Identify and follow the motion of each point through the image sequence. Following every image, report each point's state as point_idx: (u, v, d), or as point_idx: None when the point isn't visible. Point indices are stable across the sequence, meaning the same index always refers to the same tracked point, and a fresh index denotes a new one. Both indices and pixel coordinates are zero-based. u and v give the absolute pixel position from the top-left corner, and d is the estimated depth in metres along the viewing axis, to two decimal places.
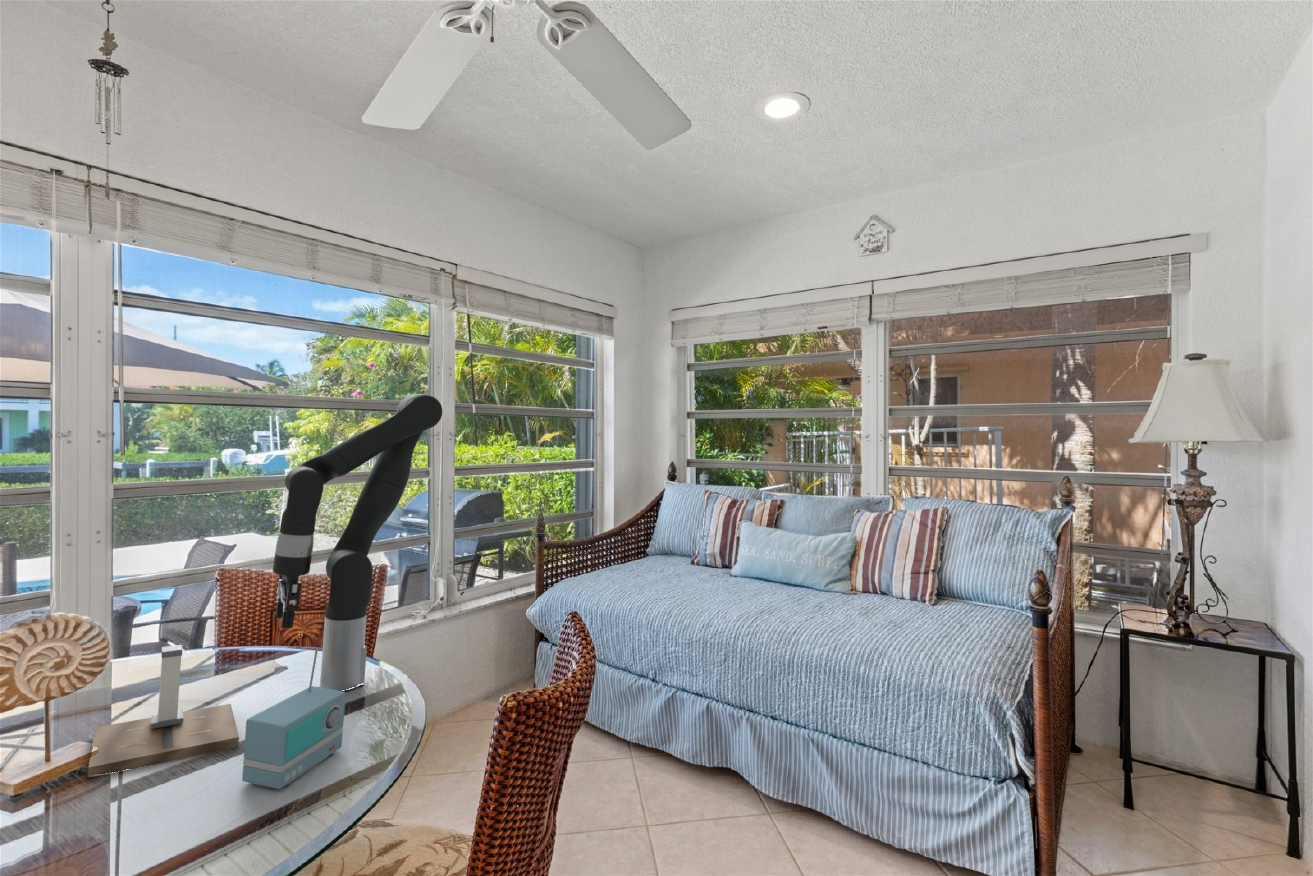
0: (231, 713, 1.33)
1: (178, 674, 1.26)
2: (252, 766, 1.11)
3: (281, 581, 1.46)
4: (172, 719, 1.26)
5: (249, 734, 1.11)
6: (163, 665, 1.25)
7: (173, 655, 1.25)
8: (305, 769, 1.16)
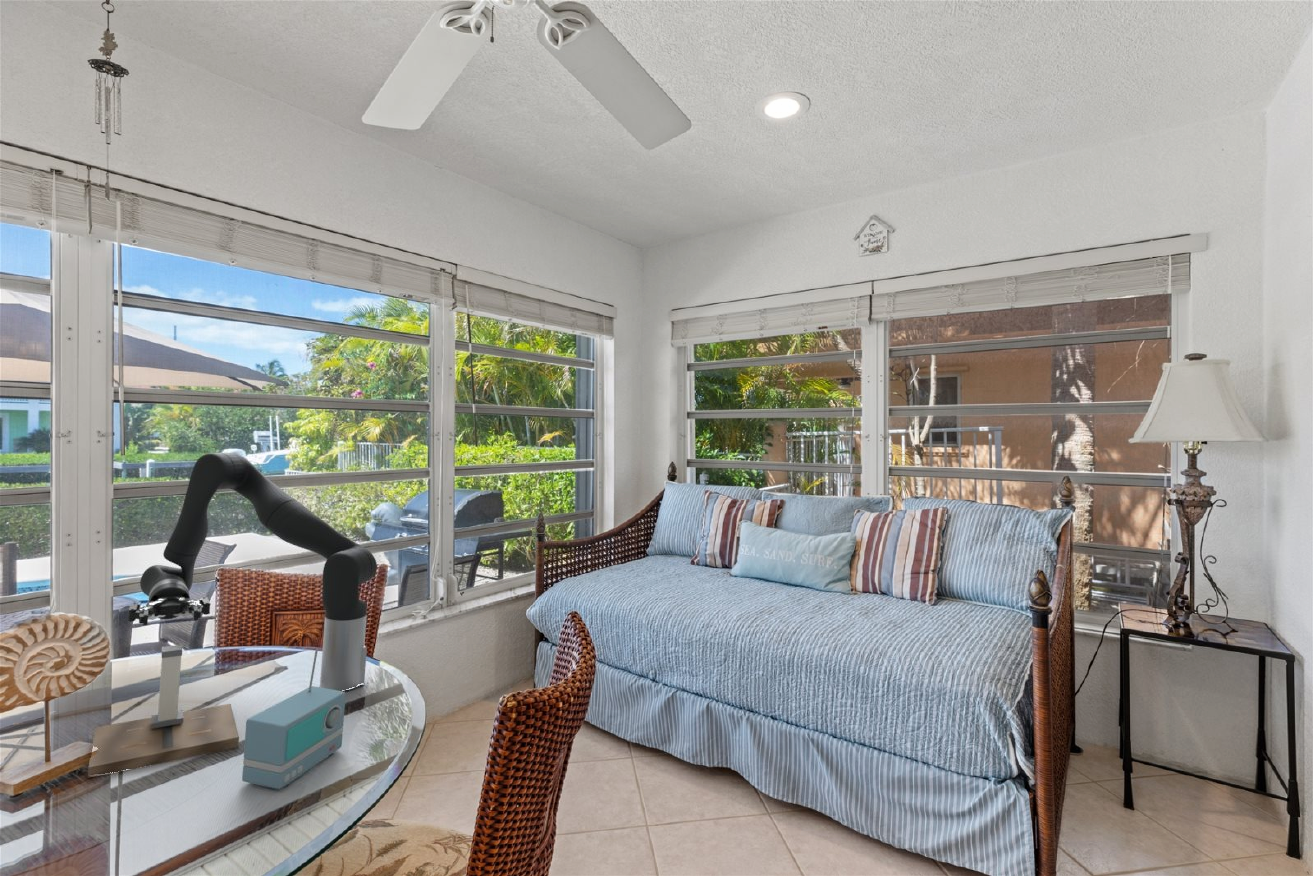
0: (231, 713, 1.33)
1: (178, 674, 1.26)
2: (252, 766, 1.11)
3: None
4: (172, 719, 1.26)
5: (249, 734, 1.11)
6: (163, 665, 1.25)
7: (173, 655, 1.25)
8: (305, 769, 1.16)
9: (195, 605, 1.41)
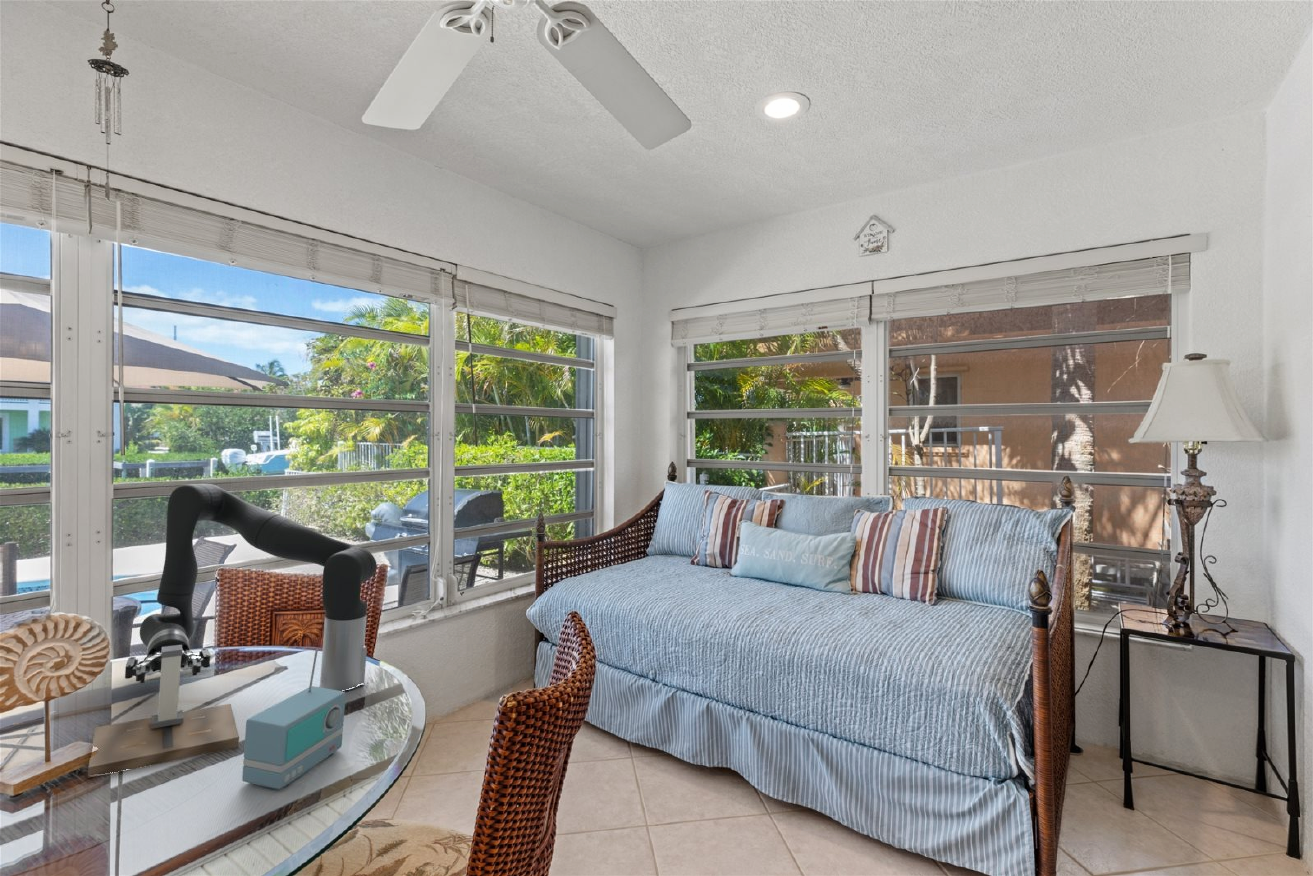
0: (231, 713, 1.33)
1: (178, 674, 1.26)
2: (252, 766, 1.11)
3: None
4: (172, 719, 1.26)
5: (249, 734, 1.11)
6: (163, 665, 1.25)
7: (173, 655, 1.25)
8: (305, 769, 1.16)
9: (194, 658, 1.36)
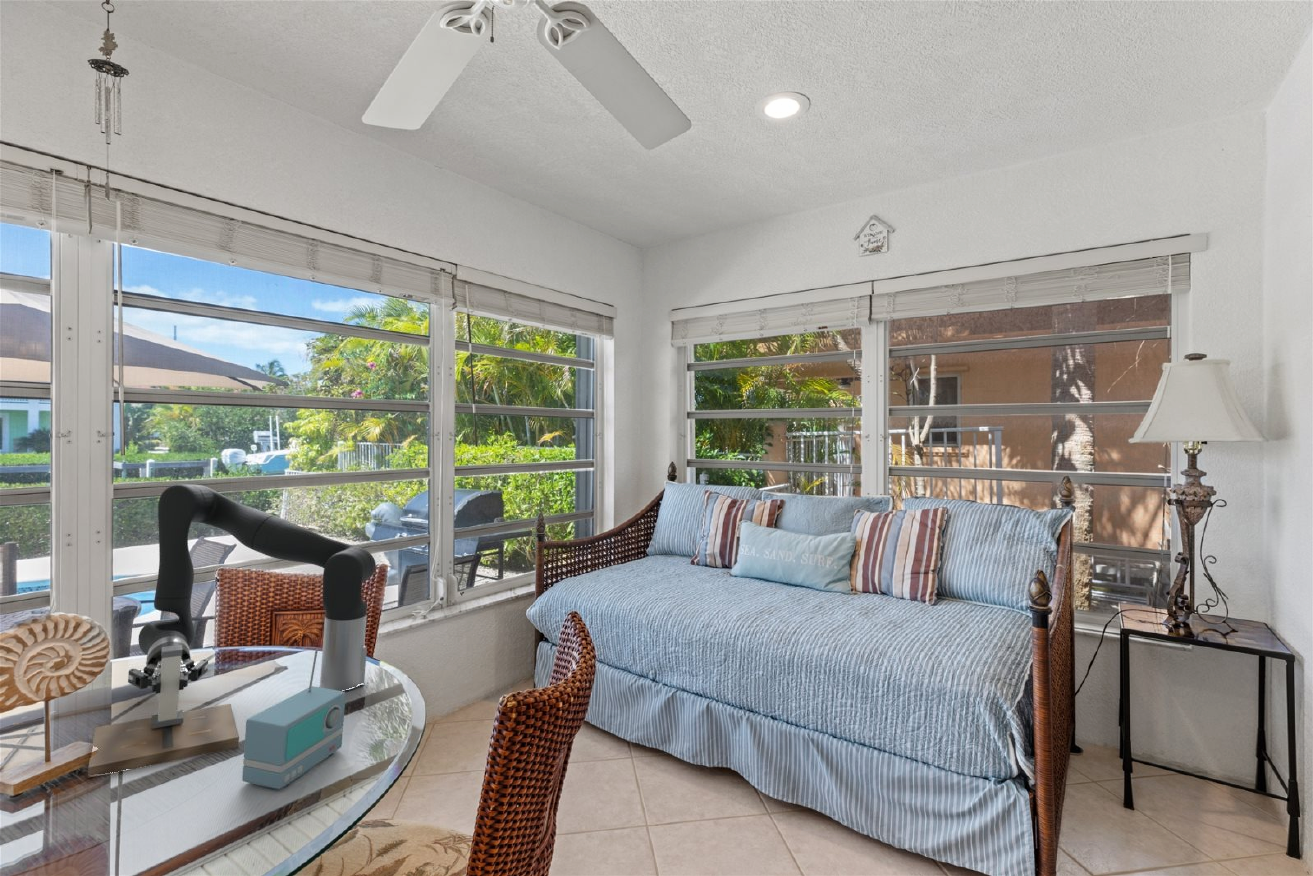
0: (231, 713, 1.33)
1: (178, 674, 1.26)
2: (252, 766, 1.11)
3: None
4: (172, 719, 1.26)
5: (249, 734, 1.11)
6: (163, 665, 1.25)
7: (173, 655, 1.25)
8: (305, 769, 1.16)
9: (181, 672, 1.29)
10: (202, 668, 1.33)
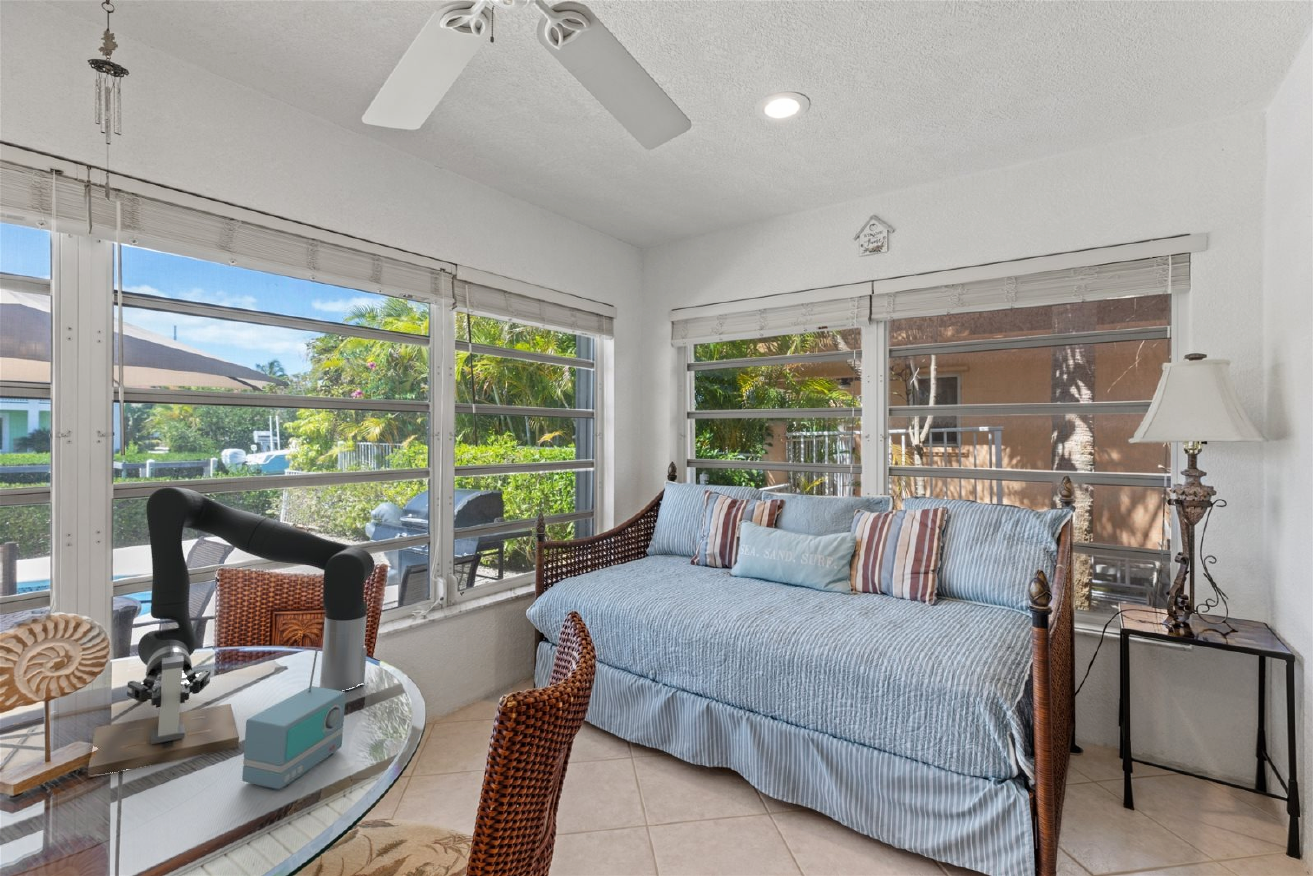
0: (231, 713, 1.33)
1: (179, 687, 1.21)
2: (252, 766, 1.11)
3: None
4: (173, 734, 1.20)
5: (249, 734, 1.11)
6: (163, 677, 1.19)
7: (174, 667, 1.20)
8: (305, 769, 1.16)
9: (182, 684, 1.23)
10: (204, 680, 1.28)
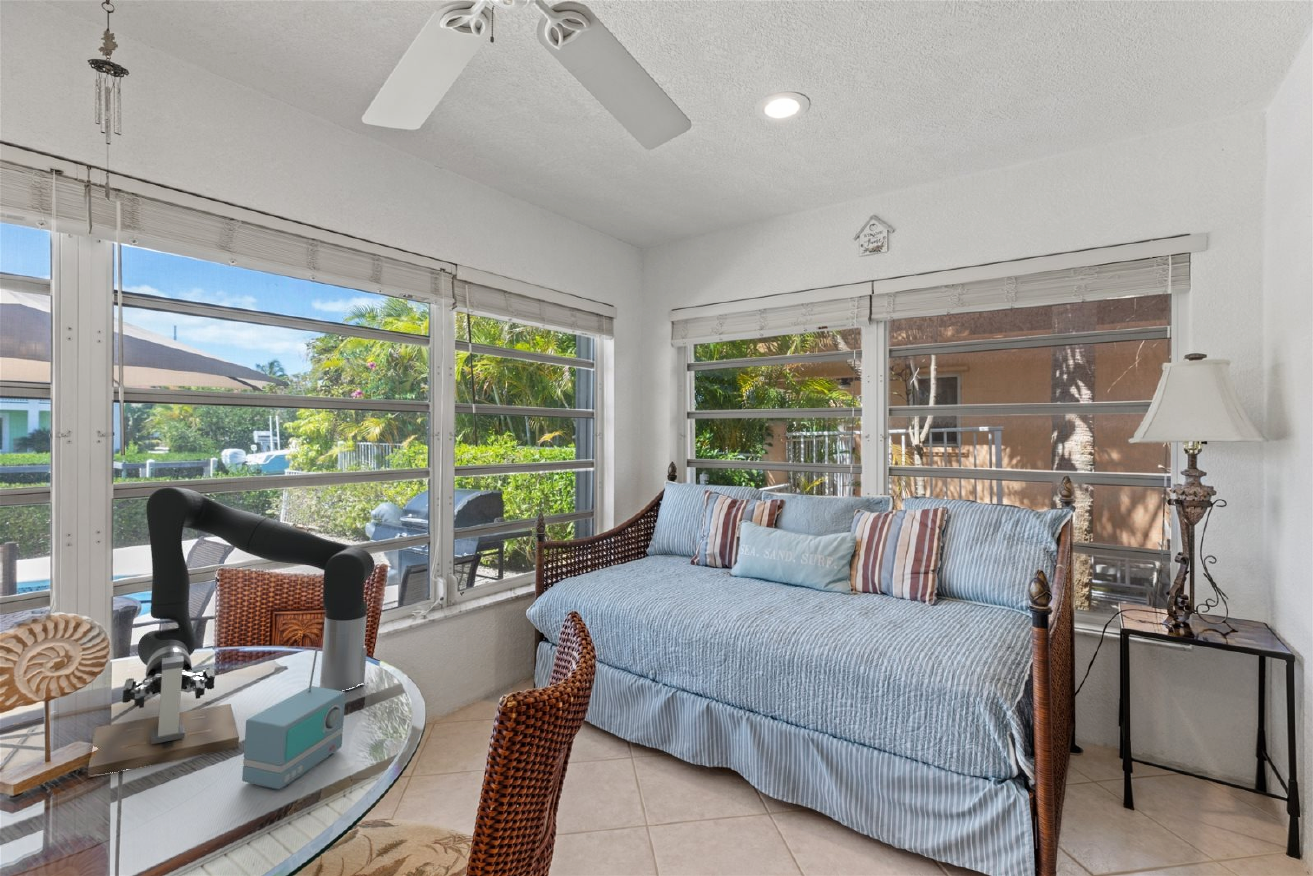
0: (231, 713, 1.33)
1: (179, 687, 1.21)
2: (252, 766, 1.11)
3: None
4: (173, 734, 1.20)
5: (249, 734, 1.11)
6: (163, 677, 1.19)
7: (174, 667, 1.20)
8: (305, 769, 1.16)
9: (198, 680, 1.26)
10: None
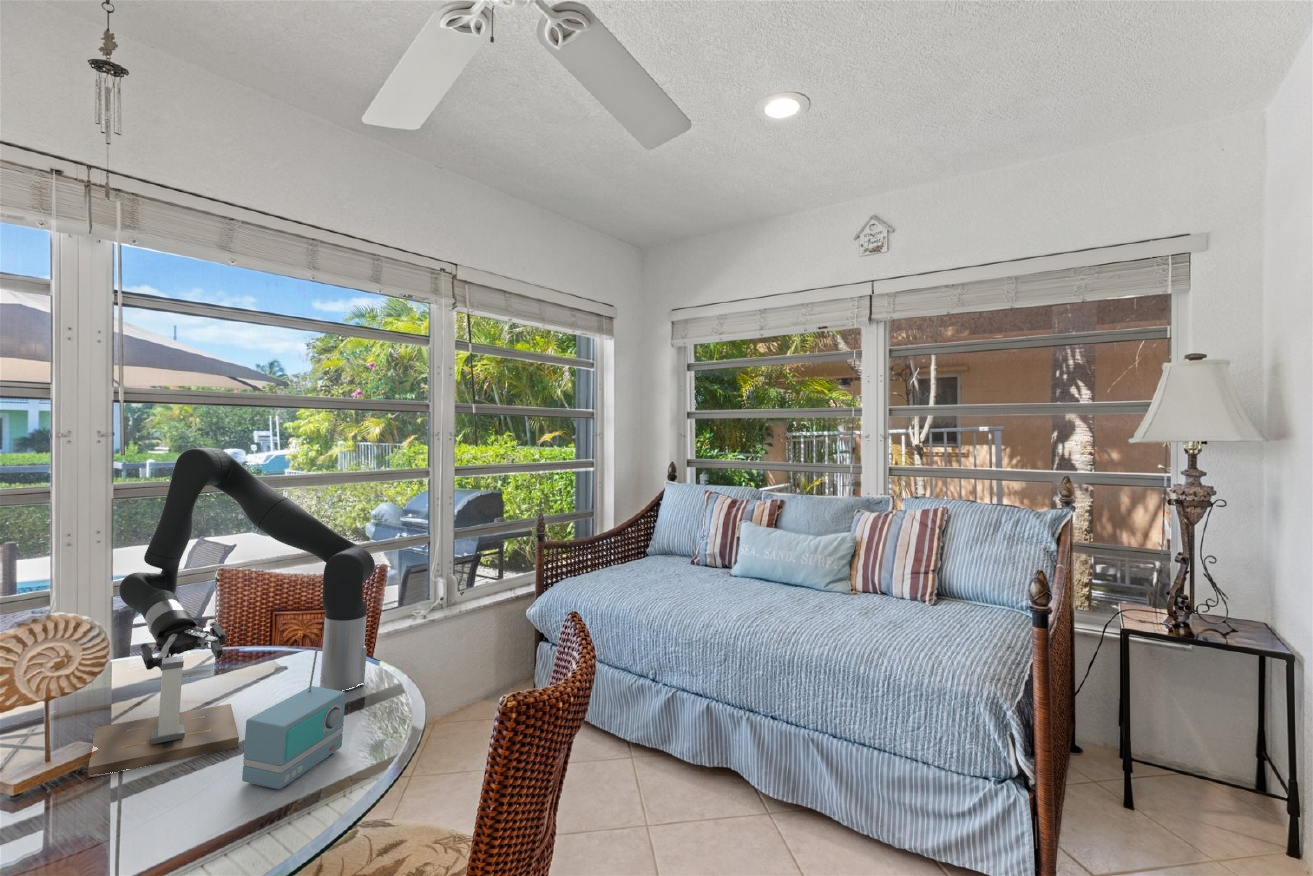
0: (231, 713, 1.33)
1: (179, 687, 1.21)
2: (252, 766, 1.11)
3: None
4: (173, 734, 1.20)
5: (249, 734, 1.11)
6: (163, 677, 1.19)
7: (174, 667, 1.20)
8: (305, 769, 1.16)
9: (212, 640, 1.38)
10: None
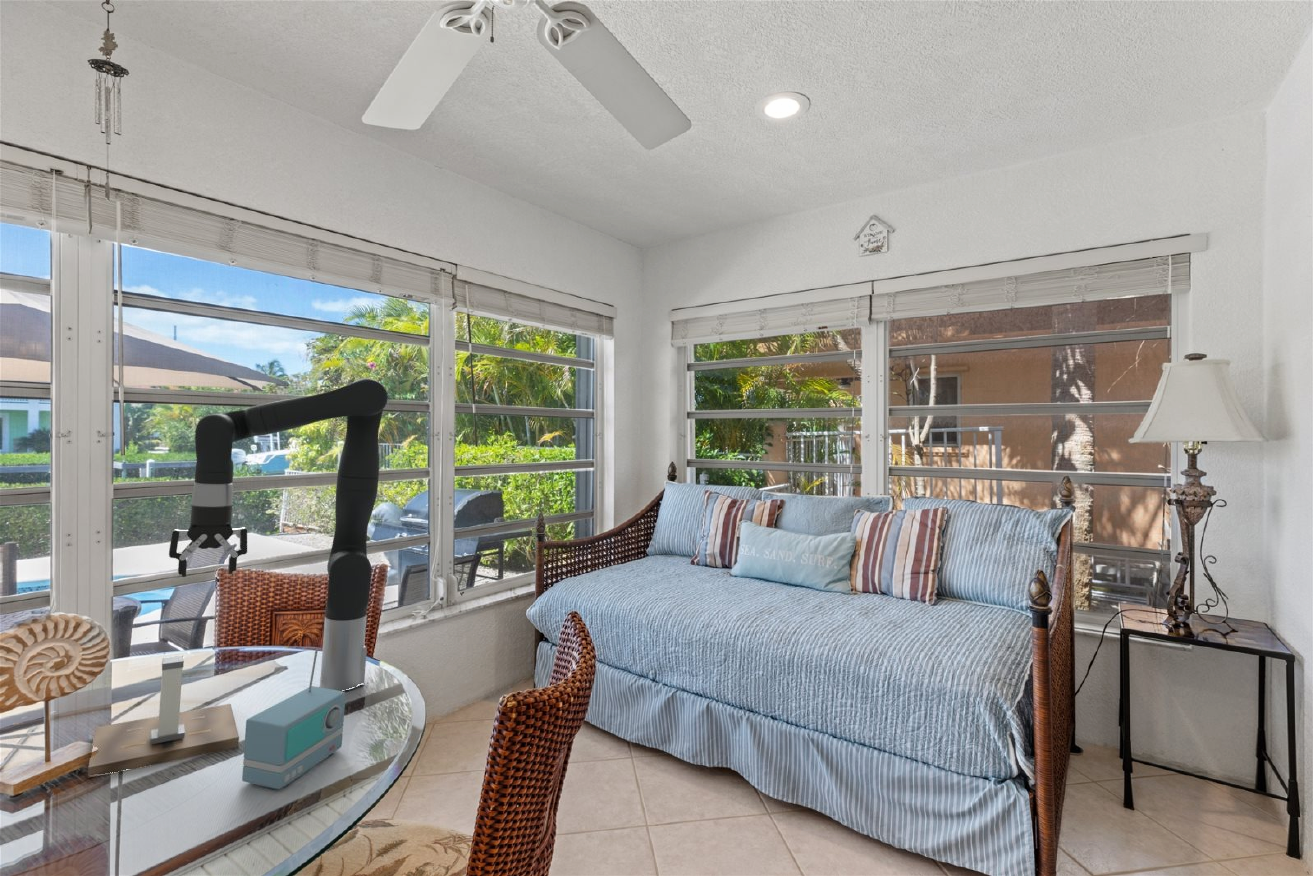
0: (231, 713, 1.33)
1: (179, 687, 1.21)
2: (252, 766, 1.11)
3: None
4: (173, 734, 1.20)
5: (249, 734, 1.11)
6: (163, 677, 1.19)
7: (174, 667, 1.20)
8: (305, 769, 1.16)
9: (232, 556, 1.44)
10: None
